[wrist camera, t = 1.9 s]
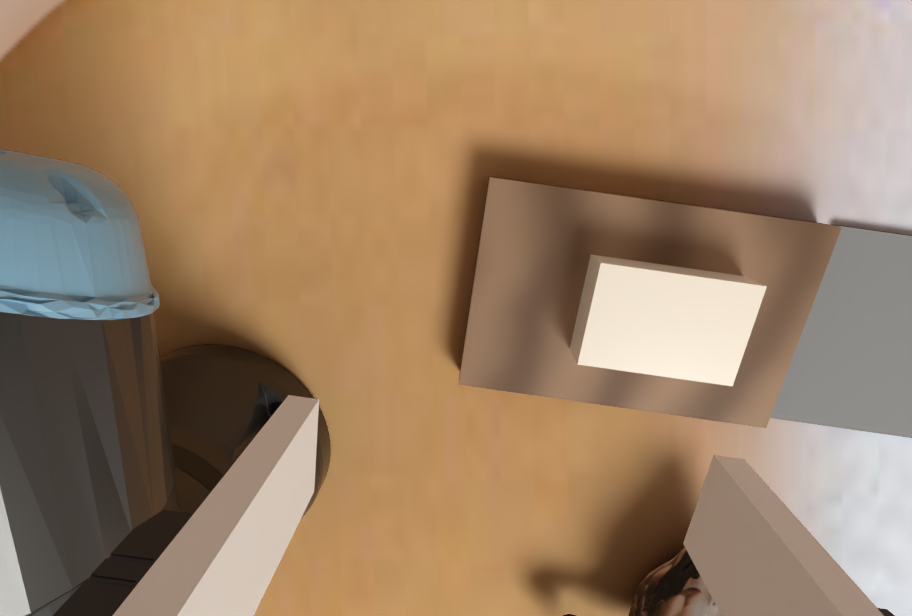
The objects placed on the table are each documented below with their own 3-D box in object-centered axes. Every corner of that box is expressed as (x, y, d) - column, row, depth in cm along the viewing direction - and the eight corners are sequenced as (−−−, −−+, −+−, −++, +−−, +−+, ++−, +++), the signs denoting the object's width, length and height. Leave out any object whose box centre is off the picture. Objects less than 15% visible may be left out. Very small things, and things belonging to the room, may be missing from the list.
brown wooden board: (459, 371, 33) (458, 384, 31) (489, 176, 29) (489, 177, 27) (749, 412, 33) (766, 427, 31) (817, 222, 29) (841, 227, 27)
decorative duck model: (547, 724, 34) (552, 560, 29) (543, 622, 41) (547, 476, 36) (779, 754, 31) (829, 582, 26) (733, 640, 38) (765, 488, 33)
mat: (763, 414, 33) (767, 417, 32) (834, 224, 29) (838, 225, 28) (966, 443, 33) (972, 446, 32) (1064, 257, 29) (1072, 258, 28)
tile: (569, 348, 30) (577, 364, 27) (590, 254, 28) (600, 262, 26) (712, 368, 30) (732, 386, 27) (743, 275, 28) (766, 286, 26)
